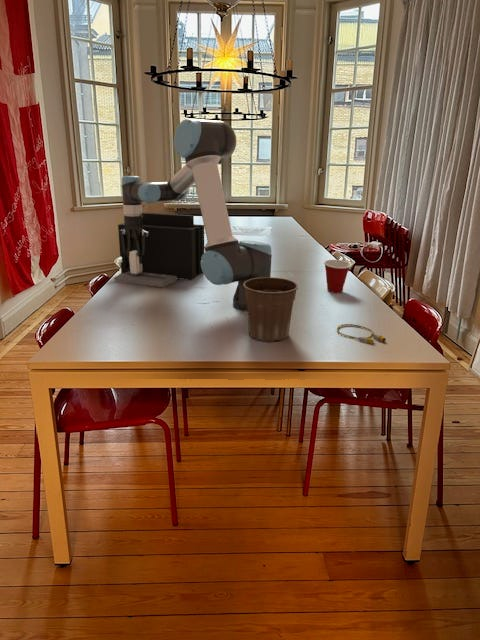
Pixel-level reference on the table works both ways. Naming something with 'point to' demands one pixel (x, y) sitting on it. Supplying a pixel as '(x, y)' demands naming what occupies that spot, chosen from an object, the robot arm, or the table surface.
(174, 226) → the game console
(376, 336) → the looped cable
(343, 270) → the plastic cup
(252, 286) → the plant pot
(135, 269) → the fader
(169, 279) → the fader panel
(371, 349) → the table surface
